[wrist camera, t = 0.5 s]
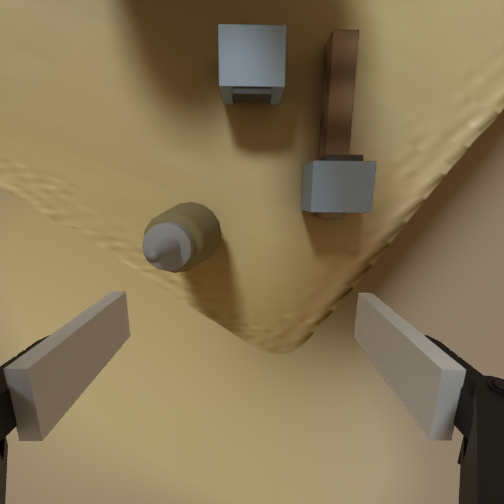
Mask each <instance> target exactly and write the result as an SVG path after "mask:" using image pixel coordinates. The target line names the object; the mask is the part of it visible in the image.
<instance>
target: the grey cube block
mask: <svg viewBox="0 0 504 504" xmlns="http://www.w3.org/2000/svg"><path fill="white" fill-rule="evenodd" d="M286 29H287V25H245V24H218V45H219V87H220V91H221V94H222V98H223V102H224V104H233V99H234V102H270V105H279V103H280V100H281V97H282V94H283V90H284V87H285V61H286Z"/></svg>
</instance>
